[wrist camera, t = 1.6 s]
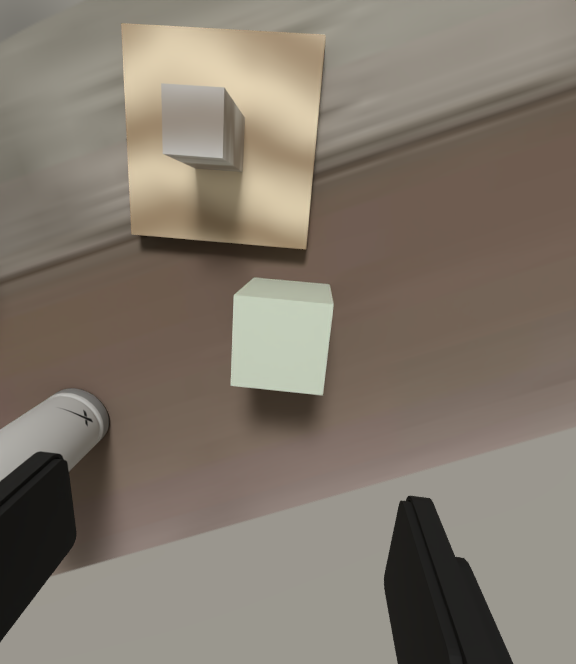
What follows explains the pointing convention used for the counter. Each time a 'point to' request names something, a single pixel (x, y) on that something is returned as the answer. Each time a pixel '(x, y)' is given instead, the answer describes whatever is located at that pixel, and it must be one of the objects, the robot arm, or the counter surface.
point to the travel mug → (54, 430)
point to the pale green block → (281, 335)
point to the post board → (270, 133)
